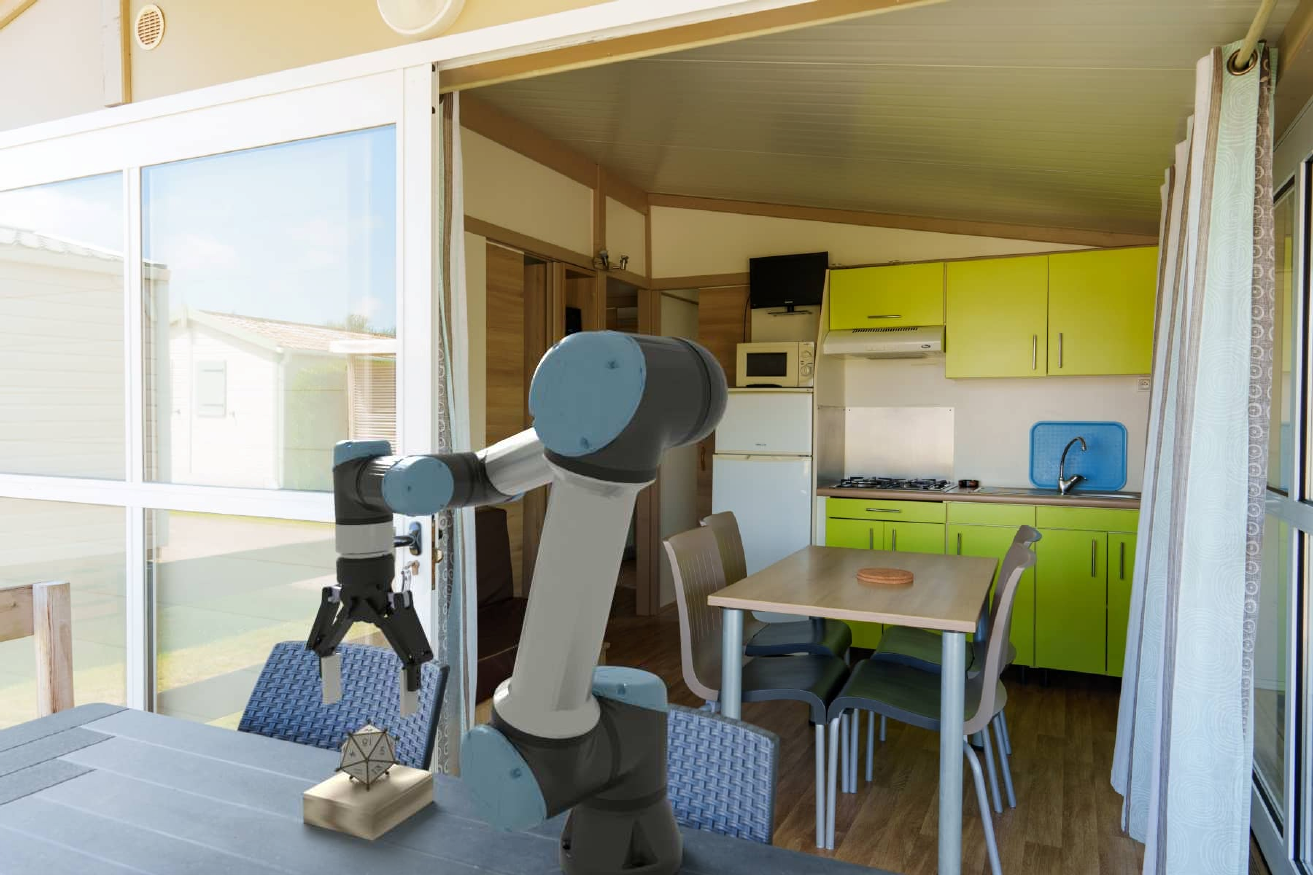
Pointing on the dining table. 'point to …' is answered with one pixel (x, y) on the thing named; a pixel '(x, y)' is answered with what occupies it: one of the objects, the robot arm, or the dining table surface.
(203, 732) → the dining table surface
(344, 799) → the birch base
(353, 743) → the game die
